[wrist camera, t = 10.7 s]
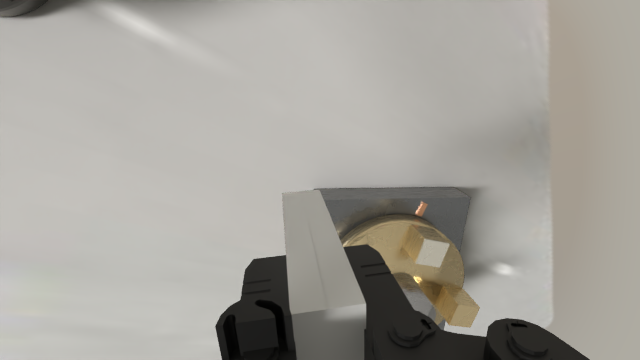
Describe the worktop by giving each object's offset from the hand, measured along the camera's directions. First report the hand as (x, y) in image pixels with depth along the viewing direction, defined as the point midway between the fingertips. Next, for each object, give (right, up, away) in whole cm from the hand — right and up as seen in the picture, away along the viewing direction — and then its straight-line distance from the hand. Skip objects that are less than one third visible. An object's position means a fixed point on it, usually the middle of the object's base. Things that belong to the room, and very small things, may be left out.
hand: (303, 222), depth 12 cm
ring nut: (+10, -11, +29) cm, 32 cm away
